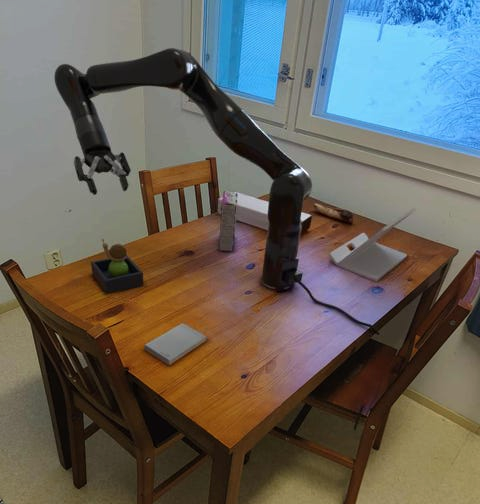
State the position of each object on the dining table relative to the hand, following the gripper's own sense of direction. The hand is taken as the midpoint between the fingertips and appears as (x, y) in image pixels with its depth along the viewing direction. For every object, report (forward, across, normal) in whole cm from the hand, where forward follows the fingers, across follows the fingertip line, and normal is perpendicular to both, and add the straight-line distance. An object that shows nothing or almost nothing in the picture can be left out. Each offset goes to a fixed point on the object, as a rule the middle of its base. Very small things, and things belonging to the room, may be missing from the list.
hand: (110, 191), depth 125 cm
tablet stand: (+38, +76, -6) cm, 85 cm away
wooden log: (+15, +92, +17) cm, 94 cm away
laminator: (+10, +60, +21) cm, 64 cm away
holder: (+22, -3, +9) cm, 24 cm away
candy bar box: (+18, +38, +14) cm, 44 cm away
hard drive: (+46, -2, -15) cm, 49 cm away
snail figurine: (+22, -3, +9) cm, 24 cm away
